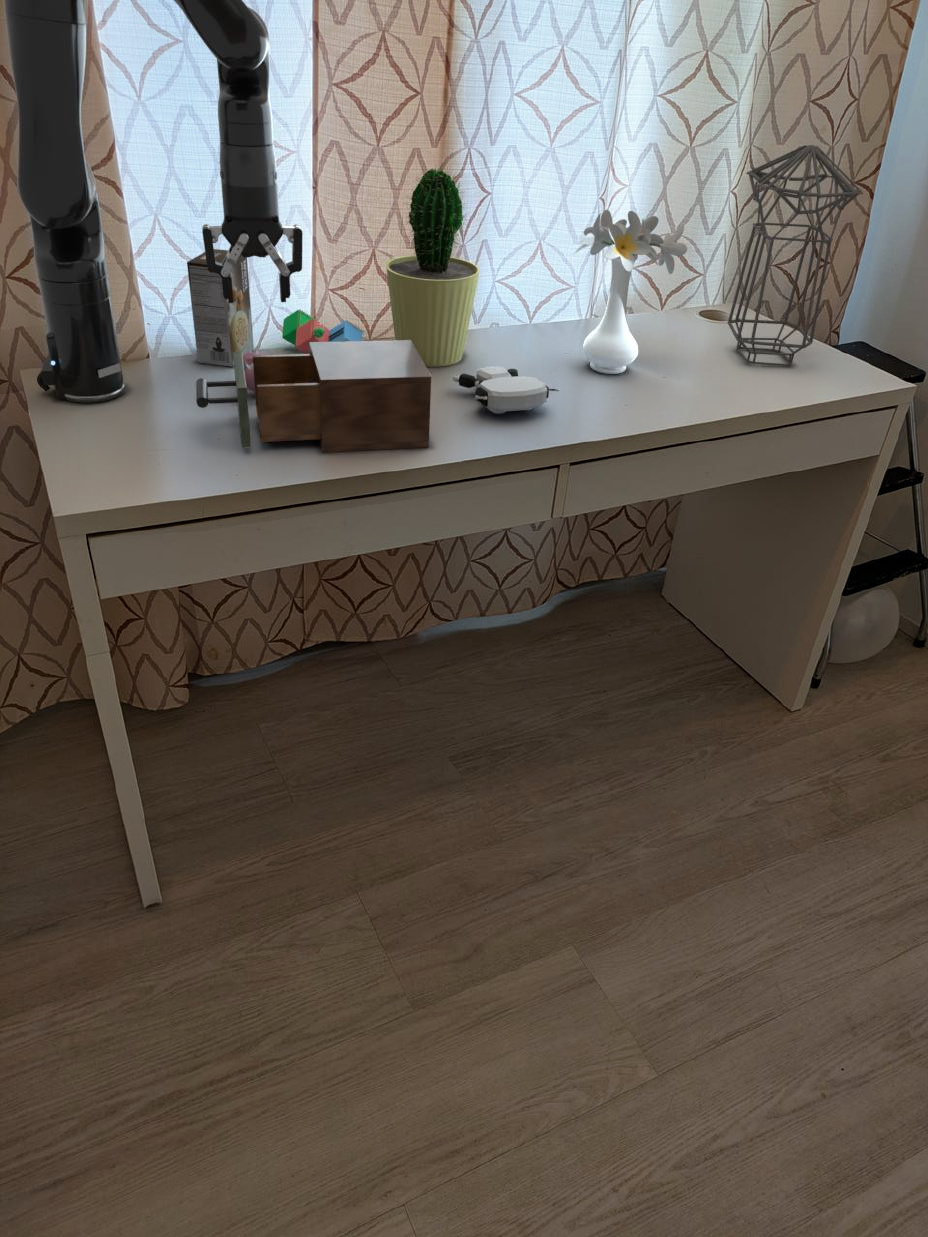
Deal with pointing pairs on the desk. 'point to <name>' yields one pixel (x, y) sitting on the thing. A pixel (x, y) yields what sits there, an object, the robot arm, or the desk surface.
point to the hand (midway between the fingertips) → (257, 300)
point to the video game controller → (249, 369)
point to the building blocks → (316, 331)
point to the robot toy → (505, 389)
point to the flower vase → (623, 283)
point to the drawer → (274, 397)
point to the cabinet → (372, 395)
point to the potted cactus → (433, 275)
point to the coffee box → (220, 311)
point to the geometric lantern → (847, 192)
